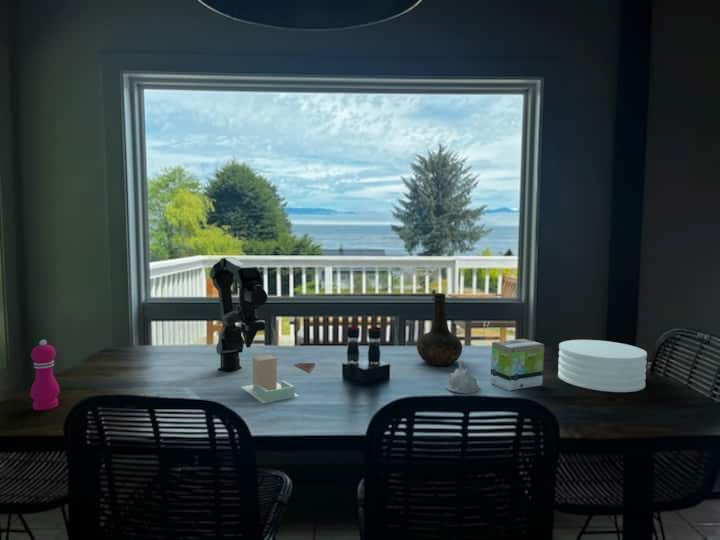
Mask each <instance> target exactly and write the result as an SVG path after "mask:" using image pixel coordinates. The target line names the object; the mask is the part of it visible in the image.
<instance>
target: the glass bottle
mask: <svg viewBox="0 0 720 540" xmlns="http://www.w3.org/2000/svg"><path fill="white" fill-rule="evenodd" d="M431 300H433V314H432V323H431V329H430V331H427V332H425V333H424V334H422V335H421V336H420V337H419V338H418V340H417V343H416V350H417V353H418V355H419V357H420V358H421V359H422V360H423V361H424V362H425V363H427V364H429V365H432V366H449V365H451V364H453V363H456V362H457V361H458V360H459V359H460V357H461V355H462V354H463V352H462V351H463V343H462V342H461V339H460V338H459V337H458V336H457V335H456V334H455V333H452V332H451V331H450V329H449V326H448V325H449V324H448V319H447V309H446V300H447V297H446V294H445V293H442V292H439V293H438V292H435V293H434V294H433V297H432V298H431Z"/></svg>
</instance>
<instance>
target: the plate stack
mask: <svg viewBox="0 0 720 540" xmlns="http://www.w3.org/2000/svg"><path fill="white" fill-rule="evenodd" d="M558 349H559V350H558V356H559V357H558V360H557V361H558V365H557V366H558V367H557V368H558V372H557V377H558V378H559V379H560V380H561V381H563V382H564V383H565V382H566V383H568V384H570V385H573V386H576V387H580V388H585V389H588V390H595V391H600V392H610V393H630V392H638V391H642V390H643V389H644V388H646V379H647V376H646V372H647V367H646V366H647V357H648V352H647V351H646V350H645V349H642V348H640V347H638V346H634V345H631V344H627V343H621V342H616V341H615V342H614V341H608V340H598V339H597V340H596V339H595V340H594V339H570V340H565V341H562V342H559V344H558Z"/></svg>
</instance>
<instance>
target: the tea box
mask: <svg viewBox="0 0 720 540" xmlns="http://www.w3.org/2000/svg"><path fill="white" fill-rule="evenodd" d="M544 357H545V344H544V343H541V342H538V341H537V342H536V341H533V340H529V339H527V338H526V339H525V338H519V339H518V338H517V339H510V340H499V341H492V344H491V358H490V359H491V360H490V374H489V375H490V378H489V379H490V380H489V381H490V384H491V385H494V386H496V387H499V388H502V389H504V390H507V391H513V390H520V389H526V388H533V387H540V386H543V379H544V378H543V375H544V374H543V373H544V359H545V358H544Z"/></svg>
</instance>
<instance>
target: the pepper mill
mask: <svg viewBox="0 0 720 540" xmlns="http://www.w3.org/2000/svg"><path fill="white" fill-rule="evenodd" d="M56 355H57V353H56V349H55V348H54V346H52V345H50V344H48V343H47V340H46V339H42V340H40V341H39V345H37V346H36V347H33V349H32V351H31V353H30V356H31V359H32V360H33V368H34V369H35V378H34V381H33V384H32V386H31V389H30V397H31V399H32V400H33V402H32V408H33V410H35V411H47V410H51V409H54V408H57V407H58V405H59V399H58V396H59V394H60V386H59V383H58V381H57V380H56V378H55V376H54V372H53V367H54V366H55V360H54V358H55V357H56Z"/></svg>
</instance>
